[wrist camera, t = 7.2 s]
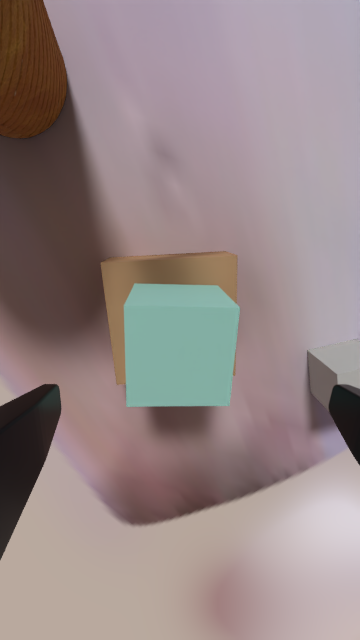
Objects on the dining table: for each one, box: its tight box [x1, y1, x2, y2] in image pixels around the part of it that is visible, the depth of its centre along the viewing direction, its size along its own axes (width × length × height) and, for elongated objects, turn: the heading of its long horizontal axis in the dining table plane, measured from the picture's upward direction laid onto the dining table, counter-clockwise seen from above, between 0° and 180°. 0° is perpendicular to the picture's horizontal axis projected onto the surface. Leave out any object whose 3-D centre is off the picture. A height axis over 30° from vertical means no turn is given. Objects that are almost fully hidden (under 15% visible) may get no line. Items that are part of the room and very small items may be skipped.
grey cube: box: [307, 339, 360, 411], centre depth 21 cm, size 4×4×4 cm
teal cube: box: [124, 283, 240, 407], centre depth 15 cm, size 5×5×5 cm
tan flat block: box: [100, 251, 237, 385], centre depth 19 cm, size 8×8×4 cm
